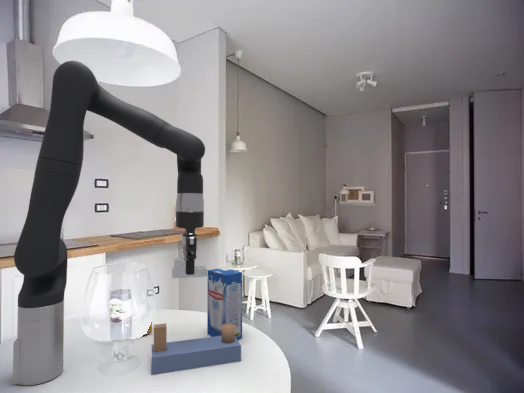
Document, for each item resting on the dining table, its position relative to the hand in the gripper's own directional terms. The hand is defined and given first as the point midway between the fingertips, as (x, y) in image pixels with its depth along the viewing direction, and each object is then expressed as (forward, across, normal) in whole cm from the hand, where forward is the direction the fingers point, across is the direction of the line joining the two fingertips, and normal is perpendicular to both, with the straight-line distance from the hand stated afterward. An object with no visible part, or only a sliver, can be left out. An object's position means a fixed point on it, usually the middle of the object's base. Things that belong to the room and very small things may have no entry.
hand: (189, 272), depth 90 cm
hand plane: (+22, +4, +2) cm, 23 cm away
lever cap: (+1, 0, 0) cm, 1 cm away
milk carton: (+22, -9, +12) cm, 27 cm away
